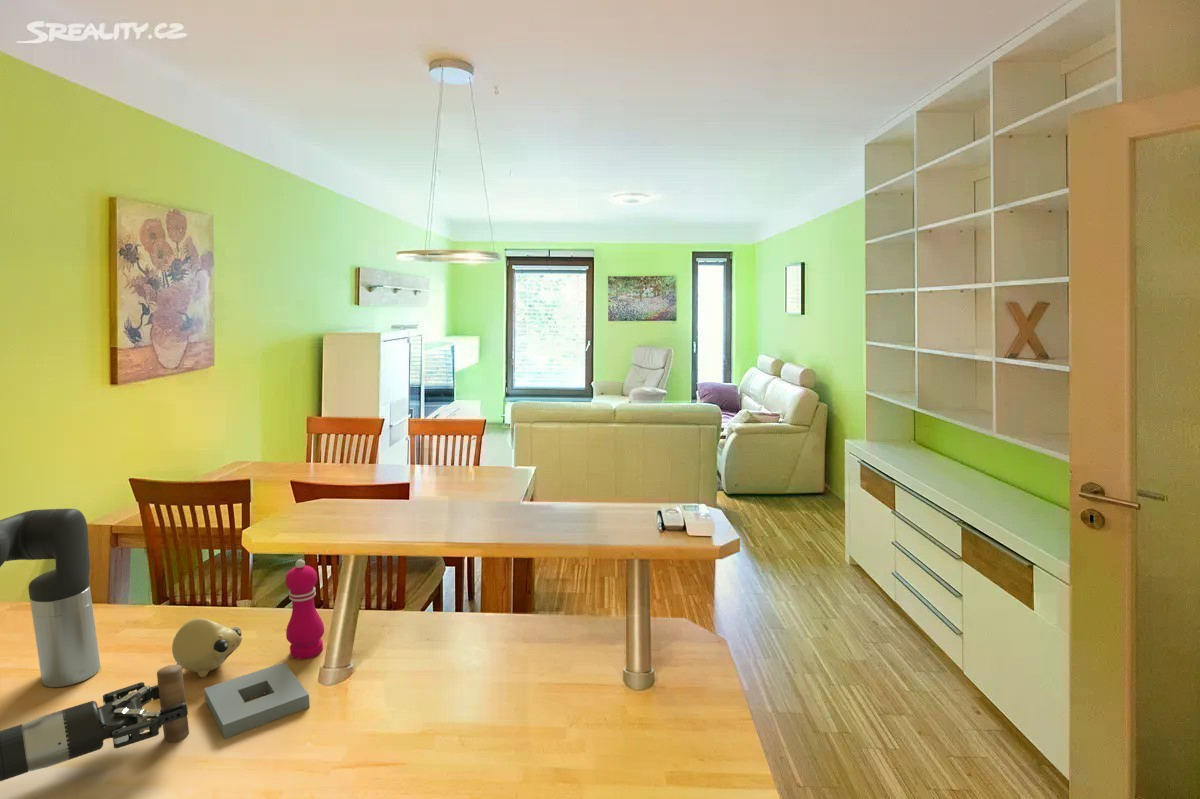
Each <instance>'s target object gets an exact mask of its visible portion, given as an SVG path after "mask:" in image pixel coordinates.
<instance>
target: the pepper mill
mask: <svg viewBox="0 0 1200 799" xmlns="http://www.w3.org/2000/svg"><path fill="white" fill-rule="evenodd" d="M317 581H318V574H317V572H316V570H315V569H314V568H313V567H312V566H310V565H306V561H305V560H303V558H302V559H297V560H296V561H295V566H294V567H292V568H291V569H289V570H288V572H287V573H286V576H285V578H284V583H285V587H286V588H287V589H288V590H289V592H288V596H289V597H288V598H289V600H291V604H292V605H291V606H292V609H291V610H292V612H291V616H290V618H289V621H288V623H287V627H286V633H285V634H286V636H285V637H286V640H287V641H288V642H289V643H290V645H289V654H290V657H291V658H294V659H296V660H306V659H311V658H314V657H316V656H318V655H320V654H321V653H320V652H322V651H324V650H323V649H324V645H323V639H322V637H323V635H324V633H325V626H324V623H323V620H322V617H321V616H320V614H319V612H318V611H317V609H316V606H315V600H314V599H315V596H316V594H317V592H316V587H315V585H317Z"/></svg>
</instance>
